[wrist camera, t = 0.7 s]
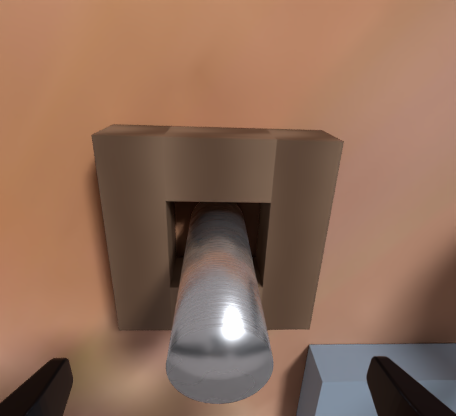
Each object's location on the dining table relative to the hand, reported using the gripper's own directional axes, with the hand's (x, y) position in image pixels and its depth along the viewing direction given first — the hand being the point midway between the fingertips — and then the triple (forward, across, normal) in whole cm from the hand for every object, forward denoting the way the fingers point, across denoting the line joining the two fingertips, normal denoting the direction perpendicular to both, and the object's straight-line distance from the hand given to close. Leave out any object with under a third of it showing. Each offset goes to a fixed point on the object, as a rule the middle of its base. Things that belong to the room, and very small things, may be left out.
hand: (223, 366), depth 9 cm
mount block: (+10, 0, 0) cm, 10 cm away
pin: (+10, 0, 0) cm, 10 cm away
